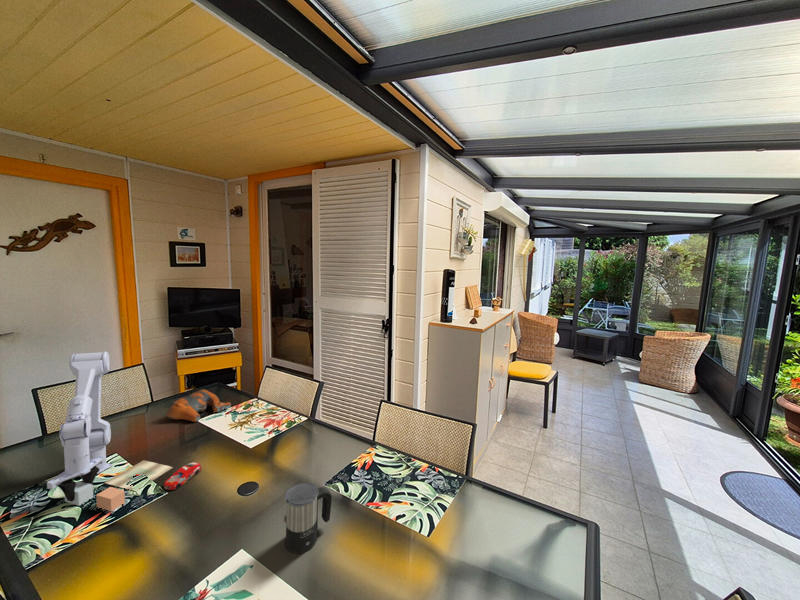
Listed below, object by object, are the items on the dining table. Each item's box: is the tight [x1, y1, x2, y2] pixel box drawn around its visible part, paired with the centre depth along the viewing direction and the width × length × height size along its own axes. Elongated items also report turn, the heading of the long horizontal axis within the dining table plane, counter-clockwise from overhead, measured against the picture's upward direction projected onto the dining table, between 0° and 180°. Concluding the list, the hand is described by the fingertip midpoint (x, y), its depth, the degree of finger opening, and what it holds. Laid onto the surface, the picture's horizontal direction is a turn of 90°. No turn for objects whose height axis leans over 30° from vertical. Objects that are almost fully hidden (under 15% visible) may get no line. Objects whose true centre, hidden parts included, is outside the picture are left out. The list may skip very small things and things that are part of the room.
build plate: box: [104, 459, 174, 492], centre depth 120 cm, size 14×14×1 cm
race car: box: [163, 461, 202, 491], centre depth 119 cm, size 13×5×4 cm, turn 165°
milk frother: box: [284, 483, 333, 554], centre depth 99 cm, size 14×16×15 cm
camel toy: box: [165, 388, 232, 423], centre depth 168 cm, size 25×13×17 cm
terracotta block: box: [96, 486, 126, 512], centre depth 104 cm, size 6×4×4 cm, turn 77°
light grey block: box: [64, 480, 94, 507], centre depth 106 cm, size 6×4×4 cm, turn 77°
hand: (79, 495), depth 106 cm, fingers closed on light grey block, 4 cm apart
